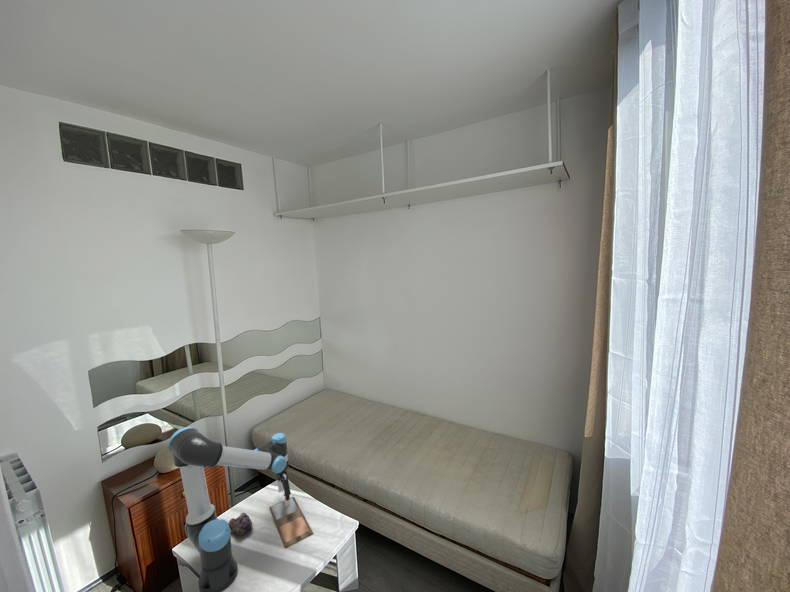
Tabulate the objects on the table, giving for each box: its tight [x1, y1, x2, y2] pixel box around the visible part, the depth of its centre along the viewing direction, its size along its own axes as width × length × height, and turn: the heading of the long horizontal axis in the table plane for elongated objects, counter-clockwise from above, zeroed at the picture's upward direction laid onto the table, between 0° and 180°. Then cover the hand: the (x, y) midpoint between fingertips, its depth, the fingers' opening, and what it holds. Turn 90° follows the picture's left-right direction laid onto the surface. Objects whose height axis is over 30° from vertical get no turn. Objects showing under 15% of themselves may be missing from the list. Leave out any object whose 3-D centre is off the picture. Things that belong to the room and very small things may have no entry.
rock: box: [228, 512, 253, 537], centre depth 165 cm, size 12×8×10 cm
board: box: [268, 496, 314, 549], centre depth 172 cm, size 14×33×1 cm, turn 34°
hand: (284, 497), depth 180 cm, fingers open, 13 cm apart
